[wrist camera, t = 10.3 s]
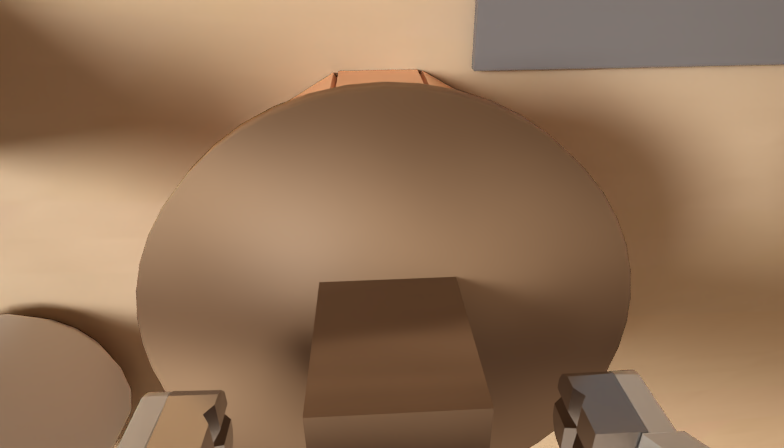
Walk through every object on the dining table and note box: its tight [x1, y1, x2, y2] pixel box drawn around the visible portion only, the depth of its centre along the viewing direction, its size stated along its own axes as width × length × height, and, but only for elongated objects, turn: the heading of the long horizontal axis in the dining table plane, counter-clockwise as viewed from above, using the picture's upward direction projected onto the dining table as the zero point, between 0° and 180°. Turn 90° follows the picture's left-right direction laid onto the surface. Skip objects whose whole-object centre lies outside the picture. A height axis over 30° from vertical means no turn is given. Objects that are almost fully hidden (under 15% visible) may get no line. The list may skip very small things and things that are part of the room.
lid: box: [136, 82, 631, 448], centre depth 12 cm, size 12×12×5 cm
